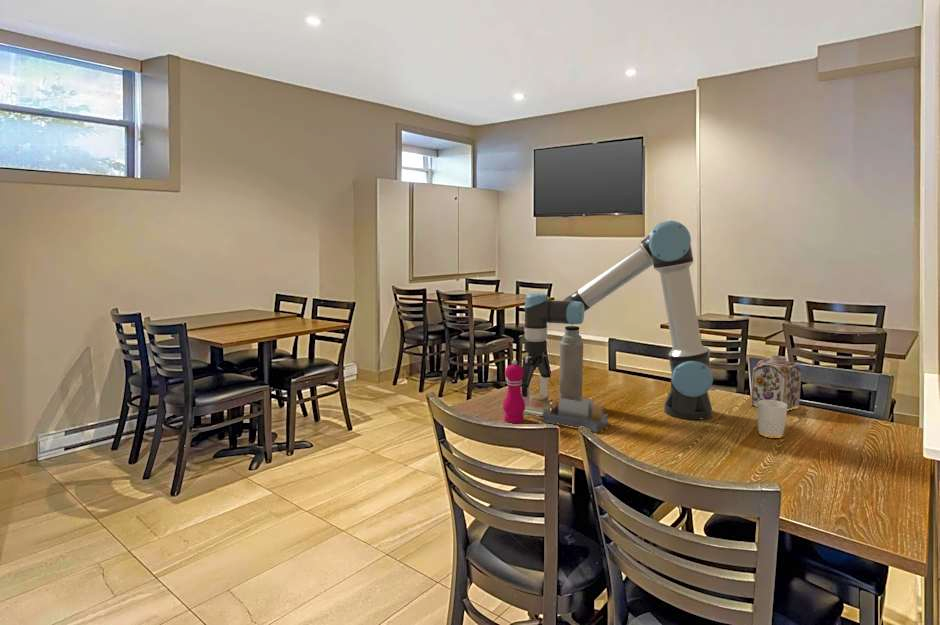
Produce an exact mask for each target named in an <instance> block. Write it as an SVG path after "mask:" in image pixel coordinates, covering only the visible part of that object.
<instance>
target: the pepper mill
mask: <svg viewBox="0 0 940 625" xmlns="http://www.w3.org/2000/svg"><path fill="white" fill-rule="evenodd" d="M523 375H524V371H523V368H522V365H519V364H518V361H517V360H516V359H513V360H512V361H511V364H509V365H508V366H506V367H505V370H504V376H505V377H506V378H507V379H506V384H507V392H506V395H505V398H504V401H503V404H502V409H503V411H504V412H505V413H504V414H503V415H504V417H503V419H504V421H505V422H506V423H510V422H512V423H513V424H517V423H518V424H519V423H522V422H524V419H525V418H524V416H525V414H523V412H524V410H525V403H524V400H523V398H522V387H521V384H522V379H521V378H522V377H523ZM512 423H511V424H512Z"/></svg>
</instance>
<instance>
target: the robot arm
mask: <svg viewBox="0 0 940 625" xmlns="http://www.w3.org/2000/svg"><path fill="white" fill-rule="evenodd" d="M691 242H692V238H691V234H690V232H689V230H688V228H687V227H686V226H685V225H684V224H682V223H681V222H678V221H676V220H668V221H667V220H666V221H663V222H660V223H658V224H657V225H656V226H654V227H653V229H652V230H651V232H650V233H649V235H648V236H646V237H645V238H644V239H643V240H641V241H640V242H639V246H638V247H636V248H635V249H634V250H632V251H631V252H629V253H628V254H627V255H625V256H624V257H622V258H621V259H619V260H618V261H617V262H614V264H613V265H611V266H610V267H608V268H607V269H605V270H604V271H603V272H601V273H600V274H598V275H597V276H596V277H594V278H592V279H591V280H589V281H588V282H587V283H585V284H584V285H583V286H581V287H579V289H577V290H576V291H574V292H573V293H572V294H570V295H568V296H566V297H565V298H564V299H563V300H552V299H549V297H548V294H545V293H538V292H537V293H533V292H532V293H528V294H526V296H525V298H524V299H525V300H524V301H525V303H524V329H523V331H524V339H525V340H524V344H523V346H524V347H523V348H524V351H525V352H526V353H527V356H523V358H522V364H521V367H522V368H523V371H524V375H523V377H522V378H521V379H522V384H521V395H522V398H523V400H524V403H525V406H530V395H531V387H530V382H531V381H532V377H533V375H534V371H536V370H538V372H539V374H540V377H539V394H540V395H546V396H549V395H548V392H549V391H548V390H549V389H548V384H549V382H548V381H549V380H548V379H549V378H551V376H552V375H551V374H552V371H551V366H550V363H549V362H550V361H549V358H548V341H547V339H548V324H561V325H562V324H564V325H570V326H574V325H582V324H583V322H584V319H585V312H587V311H588V310H589V309H590V308H592V307H593V306H595V305H596V304H598V303H599V302H600V301H602V300H604V299H605V298H606V297H608V296H610V295H611V294H612V293H614V292H615V291H617V290H618V289H619V288H622V287H623V286H624V285H626V284H627V283H629V282H631V280H633V279H635V278H636V277H637V276H639V275H641V274H642V273H643V272H645V271H646V270H648V269H649V268H651V267H653V269H654V270H655V271H657V272H658V273H659V275H660V281H661V282H660V283H661V287H662V293H663V299H664V305H665V311H666V317H667V322H668V329H669V334H670V341H671V347H672V348H671V349H670V350H669V352H668V360H669V364H670V365H669V366H670V371H671V372H670V374H671V377H670V390H669V392H668V395H667V397H666V400H665V401H664V404H663V405H664V409H663V410H664V413H666V414H667V415H669V416H672V417H674V418H678V419H683V418H684V420H693V419H699V420H701V419H700V418H707V417H710V416H711V415H712V416H713V406H712V404H711V400H710V397H709V393H708V391H710V389H711V387H712V385H713V382H714V374H713V371H712V367H711V361H710V358H711V349H710V348H709V347H707V346H705V345H703V343H702V339H701V334H700V333H701V331H700V327H699V326H700V325H699V320H698V313H697V308H696V302H695V297H694V290H693V283H692V276H691V271H690V267H691V266H692V265H693V263H694V258H693V250H692V245H691ZM712 416H711V417H712ZM711 417H710V418H711ZM707 419H708V418H707Z"/></svg>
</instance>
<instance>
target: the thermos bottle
mask: <svg viewBox="0 0 940 625" xmlns="http://www.w3.org/2000/svg"><path fill="white" fill-rule="evenodd" d="M564 329H565V330H564V334H563V335H562V336H561V337H562V338H561V341H560V342H559V371H558V372H559V373H558V374H559V377H558V380H559V381H558V383H559V385H558V399H559V398H560V397H561V396H563V395H568V396H574V397H580V398H583V375H584V374H583V371H584V370H583V368H584V366H583V365H584V360H583V359H584V342H582V335H580V326H576V325H566V326H565V327H564Z"/></svg>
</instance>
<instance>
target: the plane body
mask: <svg viewBox="0 0 940 625" xmlns="http://www.w3.org/2000/svg"><path fill="white" fill-rule="evenodd" d="M544 422H547V423H546V424H549V423H553V424H552V425H554V424H557V423H559V424H560V425H562V424H563V425H568V426H573V427H577V428H578V427H580V426H584V427H586V428H588V429H590V430H591V431H593V432H592V433H596V434H597V433H598V432H599V431H600V430H602V429H603V428H605V426H607V425H608V424H609V414H608V413H607V414H606V413H605V405H603V404H599V403H594V399H591V398H584V397H582V398H580V397H574V396H568V395H563V396H561V397H560V398H559V397H558V401H552V402H550V409H549V410H548V411H546V412H544V413H543V417H542V423H544Z"/></svg>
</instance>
